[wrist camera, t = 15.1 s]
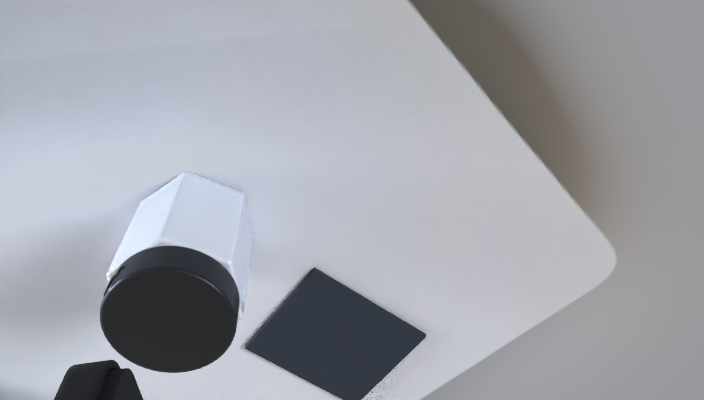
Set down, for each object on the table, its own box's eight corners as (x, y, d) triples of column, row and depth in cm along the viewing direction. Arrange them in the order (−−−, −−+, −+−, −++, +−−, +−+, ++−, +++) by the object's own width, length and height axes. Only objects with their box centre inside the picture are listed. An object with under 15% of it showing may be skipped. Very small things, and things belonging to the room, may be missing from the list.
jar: (129, 175, 47) (78, 269, 37) (241, 164, 47) (222, 255, 37) (157, 275, 52) (118, 385, 41) (259, 265, 52) (246, 372, 41)
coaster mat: (245, 345, 56) (244, 348, 55) (314, 267, 52) (314, 270, 52) (354, 402, 60) (354, 405, 59) (425, 333, 56) (426, 336, 56)
